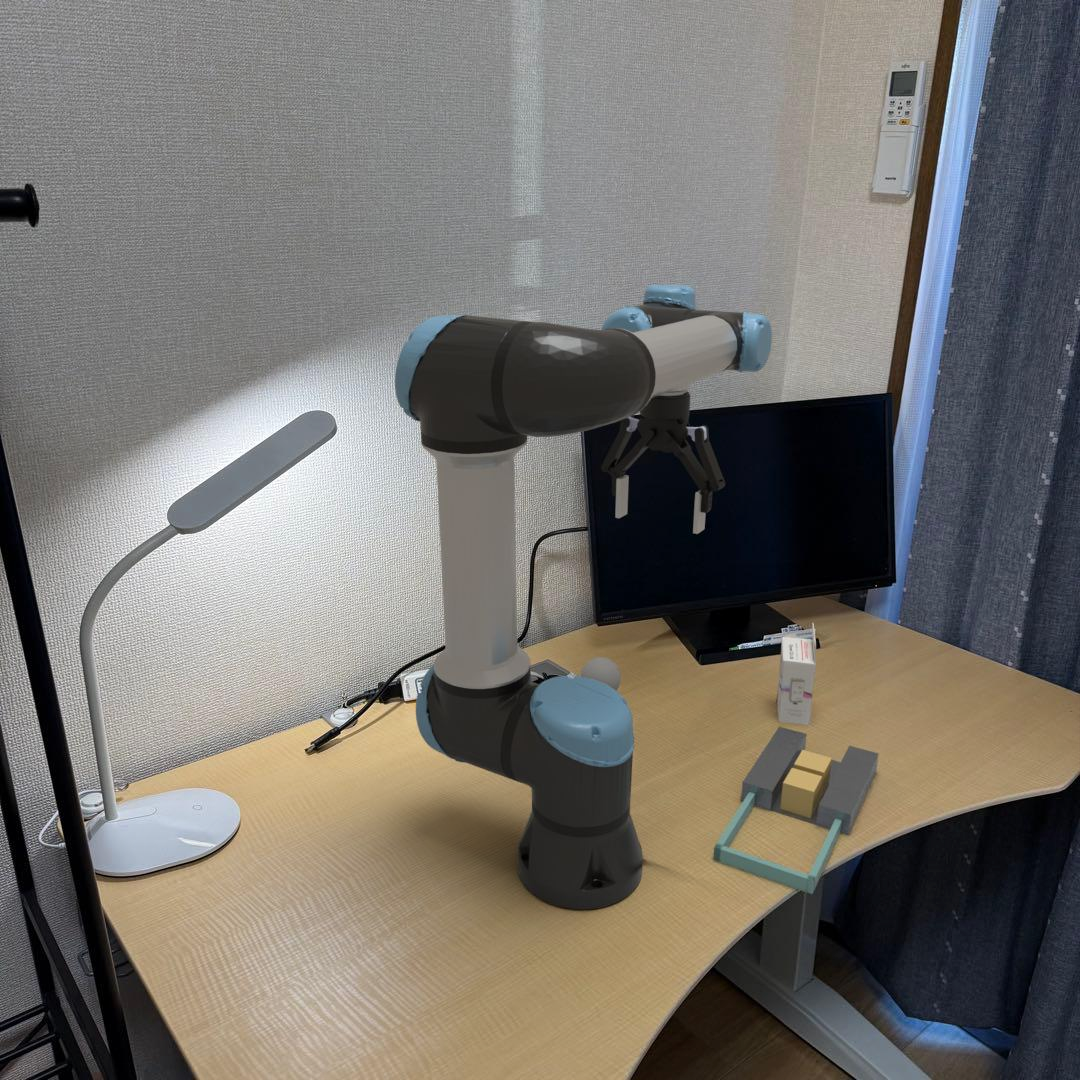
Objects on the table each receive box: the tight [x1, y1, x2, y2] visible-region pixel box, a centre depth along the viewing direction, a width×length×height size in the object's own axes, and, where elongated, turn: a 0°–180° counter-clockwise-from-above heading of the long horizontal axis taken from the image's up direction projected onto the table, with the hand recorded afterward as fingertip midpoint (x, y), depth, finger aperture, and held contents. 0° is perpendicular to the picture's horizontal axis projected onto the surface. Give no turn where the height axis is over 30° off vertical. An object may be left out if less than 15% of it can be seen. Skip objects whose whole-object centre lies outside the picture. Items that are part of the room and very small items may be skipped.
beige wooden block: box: [794, 749, 833, 798], centre depth 129 cm, size 4×4×4 cm
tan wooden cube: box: [780, 768, 822, 818], centre depth 125 cm, size 4×4×4 cm
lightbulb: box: [580, 656, 622, 691], centre depth 146 cm, size 6×6×11 cm
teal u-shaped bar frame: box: [713, 792, 842, 895], centre depth 118 cm, size 13×12×3 cm
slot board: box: [740, 726, 880, 836], centre depth 130 cm, size 16×14×4 cm
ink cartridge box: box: [776, 622, 817, 726], centre depth 147 cm, size 9×5×15 cm, turn 168°
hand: (659, 523), depth 152 cm, fingers open, 13 cm apart
